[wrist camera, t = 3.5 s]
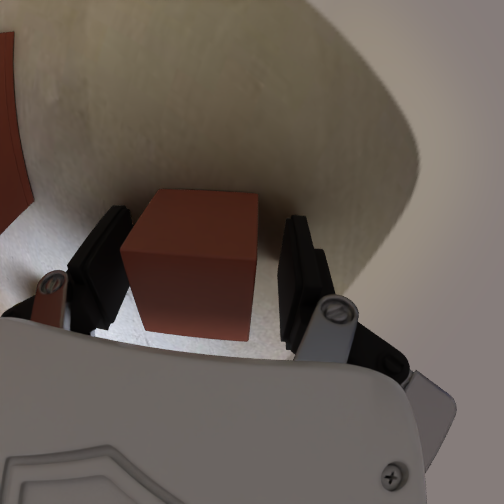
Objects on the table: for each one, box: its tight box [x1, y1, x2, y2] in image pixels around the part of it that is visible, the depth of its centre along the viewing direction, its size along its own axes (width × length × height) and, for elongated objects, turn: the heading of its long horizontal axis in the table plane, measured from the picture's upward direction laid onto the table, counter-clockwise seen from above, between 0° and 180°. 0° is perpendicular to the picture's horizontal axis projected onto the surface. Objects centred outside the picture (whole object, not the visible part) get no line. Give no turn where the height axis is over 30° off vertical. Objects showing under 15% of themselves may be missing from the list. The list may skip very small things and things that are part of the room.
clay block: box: [120, 189, 258, 342], centre depth 10 cm, size 4×4×4 cm
